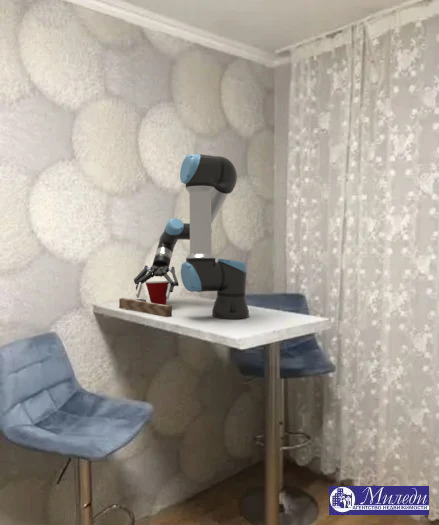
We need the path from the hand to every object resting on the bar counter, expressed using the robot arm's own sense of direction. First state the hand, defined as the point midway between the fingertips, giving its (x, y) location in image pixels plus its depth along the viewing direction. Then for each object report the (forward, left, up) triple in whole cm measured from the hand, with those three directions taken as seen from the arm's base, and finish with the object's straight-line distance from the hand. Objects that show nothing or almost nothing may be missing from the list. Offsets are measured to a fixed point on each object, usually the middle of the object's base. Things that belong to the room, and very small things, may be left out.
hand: (152, 296), depth 204 cm
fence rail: (-2, +2, -6) cm, 6 cm away
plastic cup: (-1, -4, -5) cm, 7 cm away
